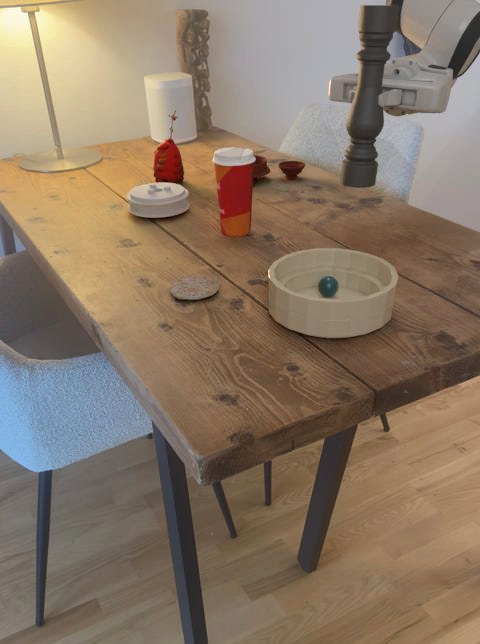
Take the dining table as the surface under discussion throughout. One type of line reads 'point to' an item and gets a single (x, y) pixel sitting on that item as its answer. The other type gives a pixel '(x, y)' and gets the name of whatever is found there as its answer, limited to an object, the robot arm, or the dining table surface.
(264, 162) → the pottery
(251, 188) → the paper cup
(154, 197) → the lid
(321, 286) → the bead
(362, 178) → the candle holder
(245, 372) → the dining table surface
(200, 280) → the flatbread
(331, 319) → the bowl
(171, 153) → the red vase with sprig
